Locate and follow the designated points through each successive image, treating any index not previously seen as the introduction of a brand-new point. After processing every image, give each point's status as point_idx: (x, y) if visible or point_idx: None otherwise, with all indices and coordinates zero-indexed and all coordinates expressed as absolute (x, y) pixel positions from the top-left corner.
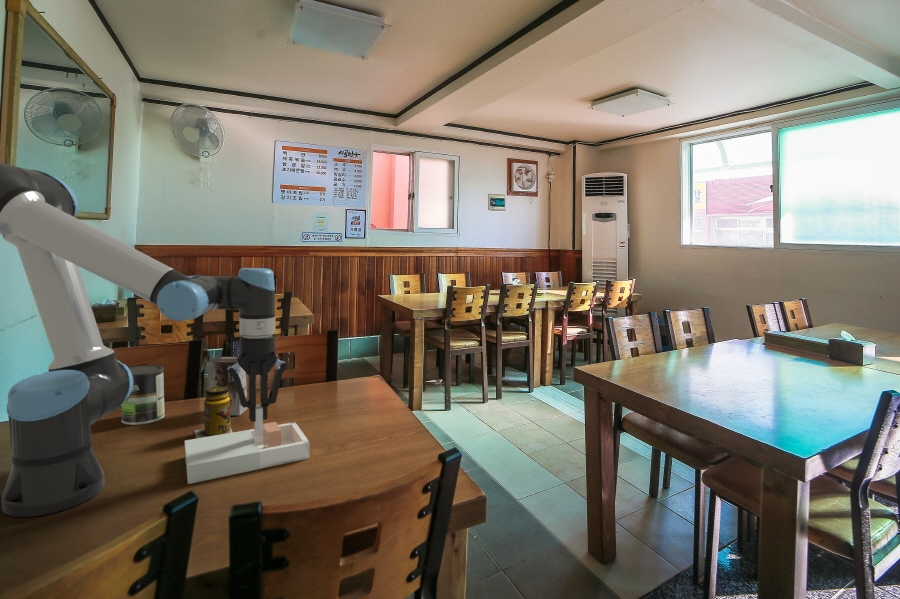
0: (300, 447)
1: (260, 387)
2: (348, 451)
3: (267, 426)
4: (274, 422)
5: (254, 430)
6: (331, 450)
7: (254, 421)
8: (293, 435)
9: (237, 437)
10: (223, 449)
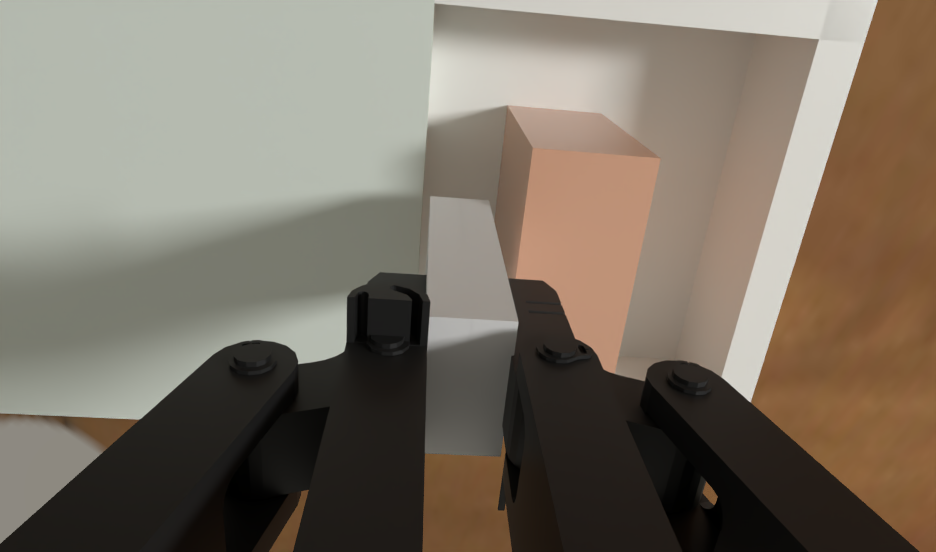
0: None
1: (559, 549)
2: (911, 403)
3: (546, 240)
4: (640, 171)
5: (429, 212)
6: (849, 346)
7: (427, 254)
8: (759, 105)
9: (301, 95)
10: (178, 282)
